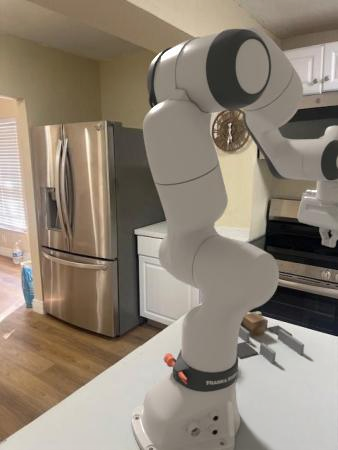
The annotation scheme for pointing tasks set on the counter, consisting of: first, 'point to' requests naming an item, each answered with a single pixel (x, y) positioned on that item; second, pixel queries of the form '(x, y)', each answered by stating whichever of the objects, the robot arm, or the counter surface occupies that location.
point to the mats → (247, 350)
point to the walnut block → (254, 324)
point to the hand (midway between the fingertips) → (328, 245)
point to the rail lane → (282, 336)
